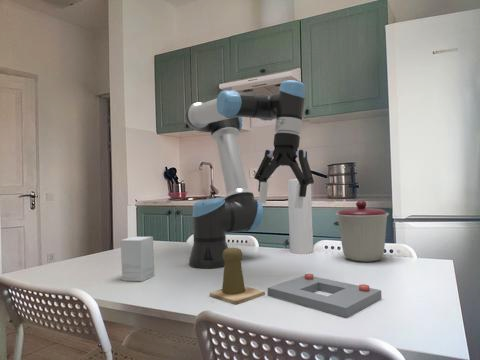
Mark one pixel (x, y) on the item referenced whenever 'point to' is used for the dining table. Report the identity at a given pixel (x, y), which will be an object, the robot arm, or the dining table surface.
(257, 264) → the dining table surface
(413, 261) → the dining table surface
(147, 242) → the supplement box
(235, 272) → the olive pawn
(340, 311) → the plate
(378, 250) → the canister
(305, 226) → the cylinder container
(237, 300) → the coaster
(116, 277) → the dining table surface
